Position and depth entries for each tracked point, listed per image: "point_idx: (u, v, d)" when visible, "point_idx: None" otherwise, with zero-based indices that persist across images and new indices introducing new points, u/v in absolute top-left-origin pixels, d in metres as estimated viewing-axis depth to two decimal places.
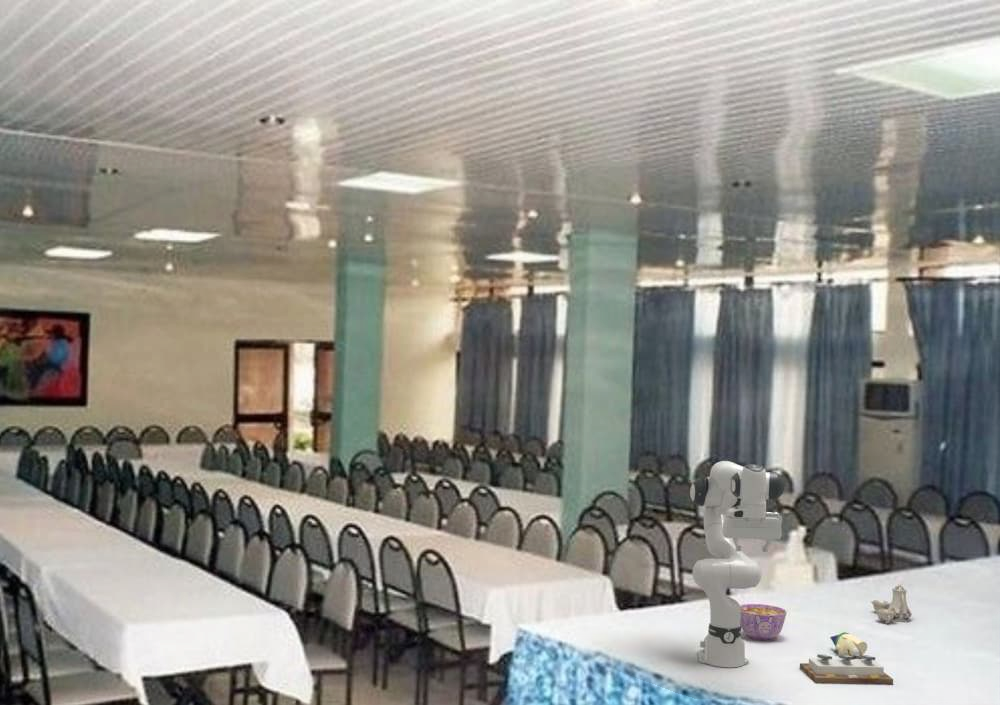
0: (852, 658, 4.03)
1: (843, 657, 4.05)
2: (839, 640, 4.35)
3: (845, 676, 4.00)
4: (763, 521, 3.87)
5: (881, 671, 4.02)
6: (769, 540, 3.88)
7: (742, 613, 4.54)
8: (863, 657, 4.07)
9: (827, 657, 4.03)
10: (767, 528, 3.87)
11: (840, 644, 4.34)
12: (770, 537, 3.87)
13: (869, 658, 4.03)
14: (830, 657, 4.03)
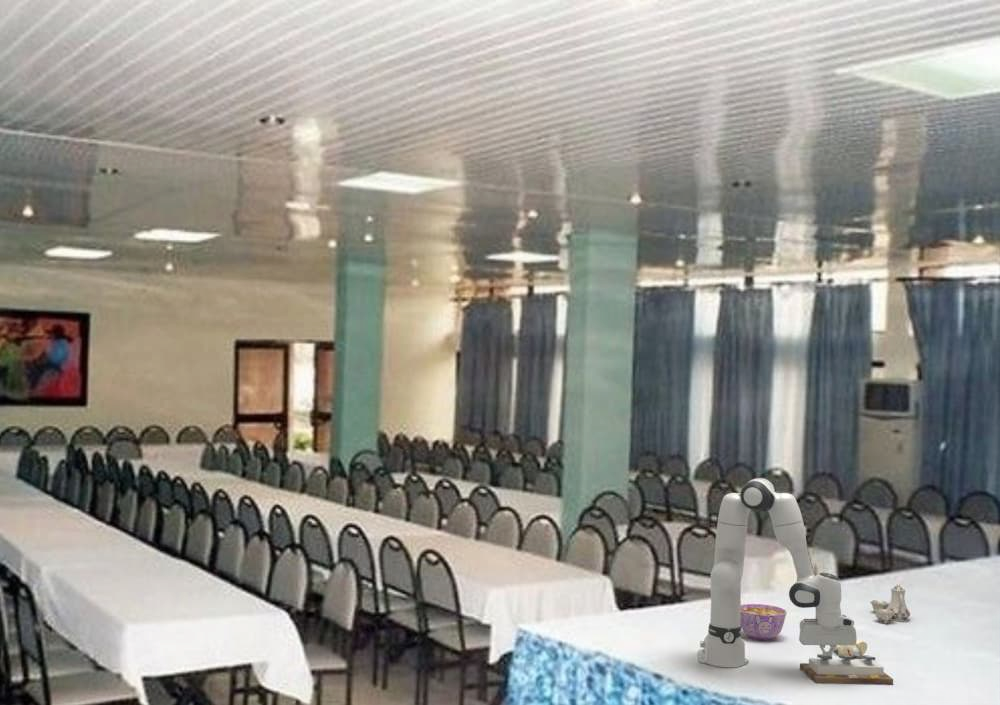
0: (852, 658, 4.03)
1: (843, 657, 4.05)
2: None
3: (845, 676, 4.00)
4: None
5: (881, 671, 4.02)
6: None
7: (742, 613, 4.54)
8: (863, 657, 4.07)
9: (827, 657, 4.03)
10: None
11: None
12: None
13: (869, 658, 4.03)
14: (830, 657, 4.03)
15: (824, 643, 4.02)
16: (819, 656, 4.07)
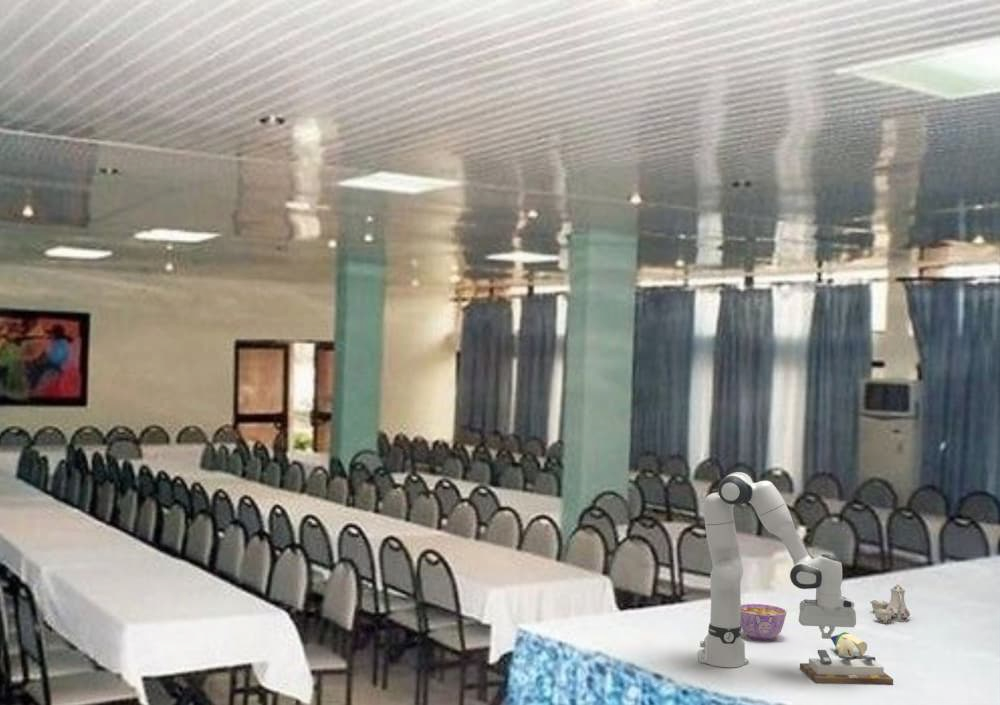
0: (852, 658, 4.03)
1: (843, 657, 4.05)
2: (839, 640, 4.35)
3: (845, 676, 4.00)
4: None
5: (881, 671, 4.02)
6: None
7: (742, 613, 4.54)
8: (863, 657, 4.07)
9: (827, 662, 4.03)
10: None
11: (840, 644, 4.34)
12: None
13: (869, 658, 4.03)
14: (830, 662, 4.03)
15: (823, 624, 4.02)
16: (819, 655, 4.07)
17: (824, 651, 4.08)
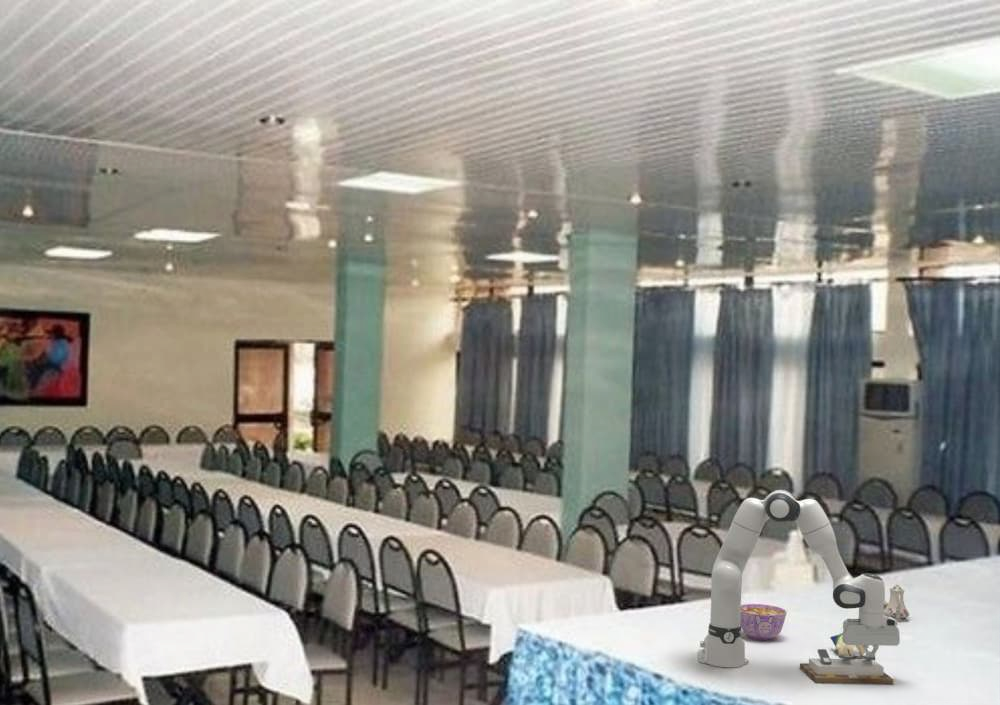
0: (852, 658, 4.03)
1: (843, 657, 4.05)
2: (839, 640, 4.35)
3: (845, 676, 4.00)
4: None
5: (881, 671, 4.02)
6: None
7: (742, 613, 4.54)
8: (863, 657, 4.07)
9: (827, 663, 4.03)
10: None
11: (840, 644, 4.34)
12: None
13: (869, 658, 4.03)
14: (830, 663, 4.03)
15: (867, 643, 4.03)
16: (819, 654, 4.07)
17: (824, 651, 4.08)
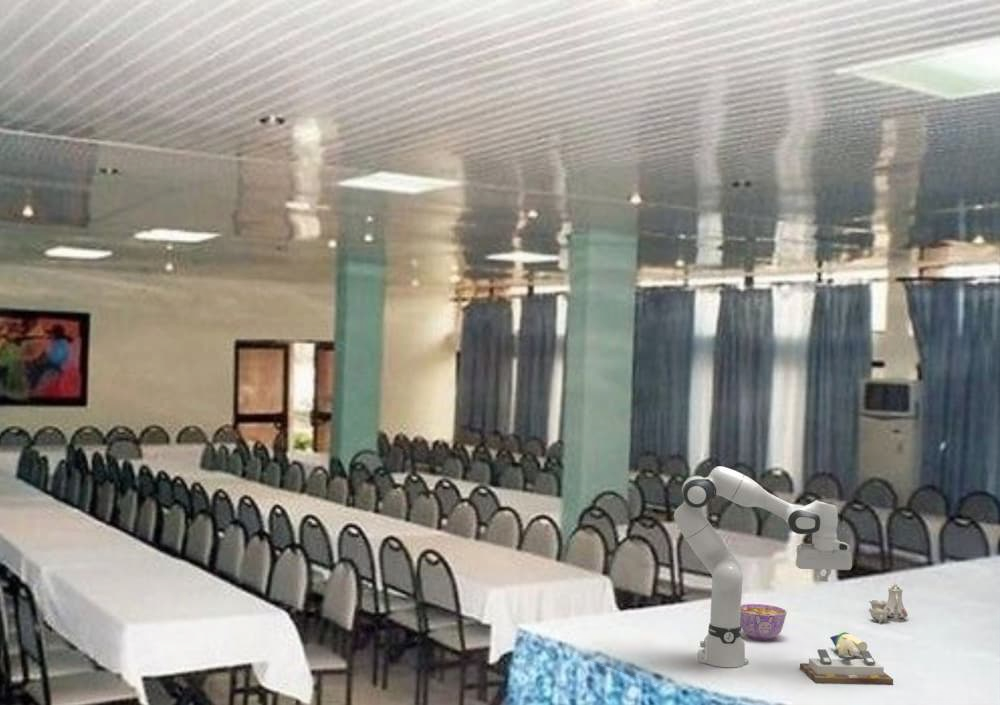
0: (852, 658, 4.03)
1: (843, 657, 4.05)
2: (839, 640, 4.35)
3: (845, 676, 4.00)
4: None
5: (881, 671, 4.02)
6: None
7: (742, 613, 4.54)
8: (863, 657, 4.07)
9: (827, 663, 4.03)
10: None
11: (840, 644, 4.34)
12: None
13: (869, 663, 4.04)
14: (830, 663, 4.03)
15: (820, 567, 4.11)
16: (819, 654, 4.07)
17: (824, 651, 4.08)
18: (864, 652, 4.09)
